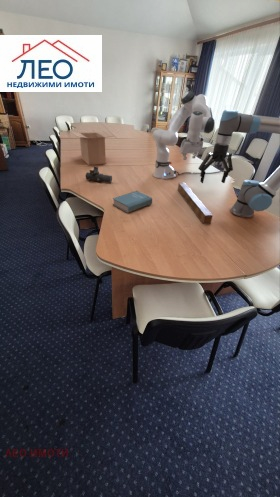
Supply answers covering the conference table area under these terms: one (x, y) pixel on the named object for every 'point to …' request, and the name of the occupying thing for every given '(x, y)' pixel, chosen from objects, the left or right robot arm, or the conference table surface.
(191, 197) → the bar
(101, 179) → the laser sight
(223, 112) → the right robot arm
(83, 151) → the box
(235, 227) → the conference table surface
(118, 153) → the conference table surface
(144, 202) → the book
